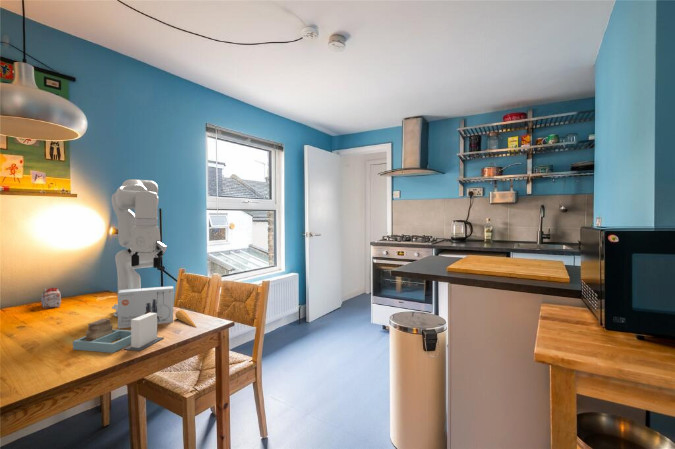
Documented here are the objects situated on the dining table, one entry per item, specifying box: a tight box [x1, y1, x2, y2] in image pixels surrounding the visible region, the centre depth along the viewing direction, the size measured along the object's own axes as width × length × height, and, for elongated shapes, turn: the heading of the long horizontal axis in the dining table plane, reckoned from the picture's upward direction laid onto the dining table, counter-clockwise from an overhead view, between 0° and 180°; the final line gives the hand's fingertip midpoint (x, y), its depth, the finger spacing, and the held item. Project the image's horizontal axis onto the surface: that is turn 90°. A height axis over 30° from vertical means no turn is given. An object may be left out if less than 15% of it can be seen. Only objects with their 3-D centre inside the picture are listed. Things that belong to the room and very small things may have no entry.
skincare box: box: [117, 285, 174, 330], centre depth 141 cm, size 21×5×16 cm, turn 117°
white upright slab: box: [130, 313, 158, 348], centre depth 118 cm, size 3×9×10 cm, turn 171°
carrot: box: [174, 309, 197, 328], centre depth 143 cm, size 20×4×4 cm, turn 47°
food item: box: [40, 287, 62, 309], centre depth 168 cm, size 14×8×10 cm, turn 46°
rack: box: [72, 328, 131, 354], centre depth 118 cm, size 16×13×3 cm
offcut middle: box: [85, 324, 114, 340], centre depth 119 cm, size 4×8×3 cm, turn 176°
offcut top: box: [87, 318, 111, 331], centre depth 119 cm, size 4×6×2 cm, turn 174°
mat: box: [123, 336, 164, 352], centre depth 118 cm, size 6×12×1 cm, turn 171°
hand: (146, 266), depth 124 cm, fingers open, 9 cm apart
